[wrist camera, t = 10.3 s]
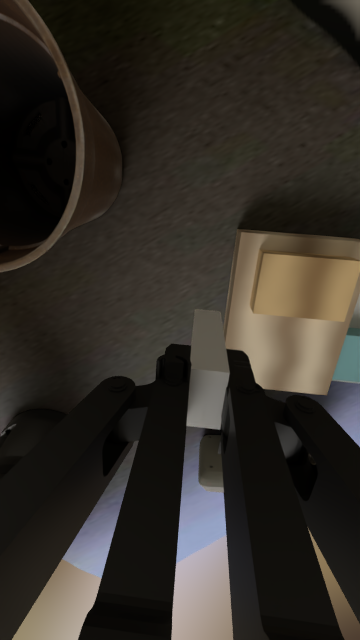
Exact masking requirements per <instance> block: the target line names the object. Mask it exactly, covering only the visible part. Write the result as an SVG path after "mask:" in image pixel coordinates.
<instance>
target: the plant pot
mask: <svg viewBox="0 0 360 640" xmlns="http://www.w3.org/2000/svg"><path fill="white" fill-rule="evenodd" d="M38 114H41V115H42V117H41V120H40V121H39V122H38V123H37V124H36V125H35V126H34V127H33V130H32V132H31V134H30V135H27V134H26V129H27V127H28V125H29V123H30V122H31V121H32V120H33V119H34V118H35V117H36V116H37V115H38ZM62 141H66V142H67V147H66V148H63V147H62ZM48 158H50V159H51V160H52V164H51V165H48V164H47V159H48ZM65 179H67V180H68V181H69V184H68V185H65V184H64V182H63V181H64V180H65ZM121 183H122V154H121V150H120V146H119V143H118V141H117V138H116V136H115V134H114V132H113V130H112V129H111V127H110V125H109V124H108V122H107V121H106V120H105V118H104V117H103V116H102V115H101V114H100V113H99V111H98V110H97V109H96V108H95V107H94V106H93V105H92V103H91V102H90V101H89V100H88V98H87V97H86V96H85V95H84V94H83V92H82V91H81V90H80V89H79V87H78V85H77V82H76V80H75V79H74V77H73V75H72V73H71V72H70V70H69V67H68V65H67V63H66V61H65V58H64V56H63V54H62V52H61V50H60V48H59V46H58V44H57V42H56V41H55V39H54V37H53V35H52V34H51V32H50V30H49V29H48V27H47V26H46V24H45V23H44V21H43V20H42V18H41V17H40V15H39V14H38V13H37V11H36V10H35V9H34V7H33V6H32V5H31V3H30V2H29V1H28V0H0V272H5V271H9V270H13V269H17V268H19V267H22V266H24V265H26V264H29V263H31V262H32V261H34V260H36V259H37V258H39V257H41V256H42V255H43V254H45V253H46V252H47V251H48V250H50V249H51V248H52V247H53V246H54V245H55V244H56V243H57V241H58V240H59V239H60V238H61V237H63V236H64V235H65V234H66V233H67V232H68V231H70V230H72V229H74V228H76V227H78V226H81V225H83V224H85V223H87V222H90V221H93V220H95V219H97V218H98V217H100V216H101V215H103V214H104V213H105V212H106V211H107V210H108V209H109V208H110V206H111V205H112V204H113V202H114V201H115V199H116V197H117V195H118V193H119V190H120V187H121ZM31 185H34V186H35V187H36V188H37V190H38V191H39V192H40V193H41V194H42V195H43V197H44V198H45V199H47V201H48V202H49V204H45V203H44V202H43V201H42V200H41V199H40V198H39V197H38V196H37V195H36V194H35V193H34V191H33V190H32V188H31Z"/></svg>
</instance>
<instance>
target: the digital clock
mask: <svg viewBox="0 0 360 640" xmlns="http://www.w3.org/2000/svg"><path fill="white" fill-rule="evenodd" d="M220 439H221V435H206V436H204V437H203V438H202V440H201V442H200V449H199V483H200V485H201V486H202V487H203V488H204V489H205V490H206V491H210V492H223V493H224V487H223V472H222V457H221V454H218V450H219V444H220ZM311 457H312V456H311ZM313 460H314V459H313Z"/></svg>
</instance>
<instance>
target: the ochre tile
mask: <svg viewBox="0 0 360 640" xmlns="http://www.w3.org/2000/svg"><path fill="white" fill-rule="evenodd" d="M359 273H360V260H358V259H355V258H352V257H346V256H334V255H322V254H310V253H297V252H285V251H273V250H261V249H259V253H258V258H257V264H256V270H255V276H254V282H253V287H252V293H251V299H250V305H249V306H250V308H251V310H252V312H253V314H264V315H275V316H285V317H296V318H307V319H318V320H328V321H339V322H344V321H345V318H346V315H347V312H348V308H349V305H350V302H351V299H352V296H353V292H354V289H355V286H356V283H357V280H358V277H359Z"/></svg>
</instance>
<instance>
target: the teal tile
mask: <svg viewBox="0 0 360 640" xmlns="http://www.w3.org/2000/svg"><path fill="white" fill-rule="evenodd" d="M332 380H342V381H352V382H360V329H359V328H348V331H347V334H346V337H345V340H344V343H343V346H342V349H341V353H340V356H339V359H338V362H337V365H336V368H335V371H334V374H333V377H332Z"/></svg>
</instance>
